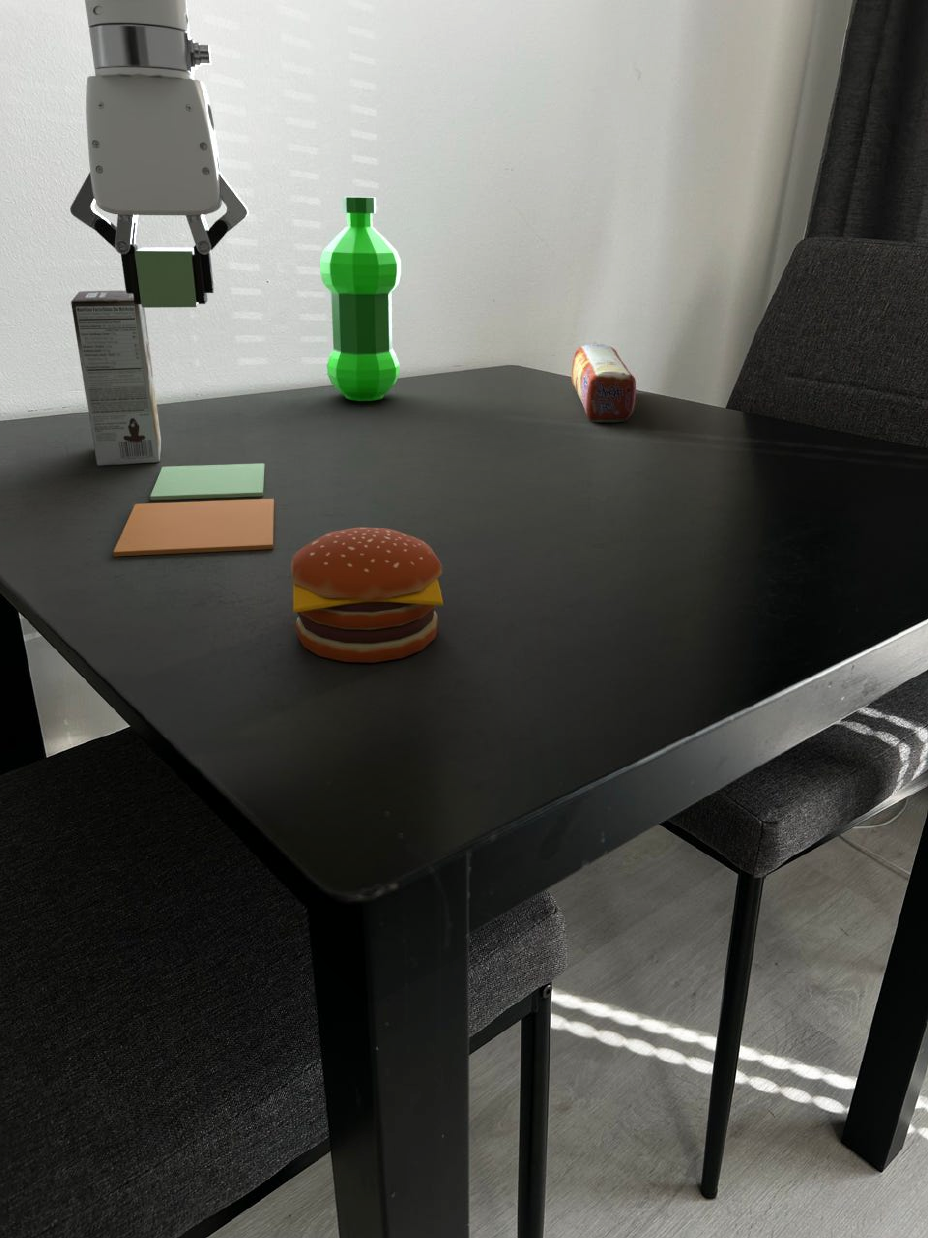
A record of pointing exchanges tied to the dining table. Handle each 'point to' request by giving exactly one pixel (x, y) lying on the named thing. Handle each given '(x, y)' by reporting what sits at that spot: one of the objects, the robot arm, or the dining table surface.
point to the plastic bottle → (361, 304)
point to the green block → (166, 277)
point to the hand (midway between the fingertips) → (171, 300)
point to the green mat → (209, 482)
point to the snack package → (603, 383)
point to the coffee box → (117, 377)
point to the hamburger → (366, 595)
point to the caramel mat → (197, 527)
